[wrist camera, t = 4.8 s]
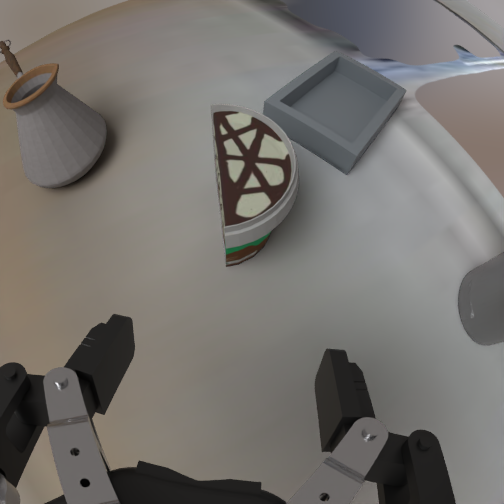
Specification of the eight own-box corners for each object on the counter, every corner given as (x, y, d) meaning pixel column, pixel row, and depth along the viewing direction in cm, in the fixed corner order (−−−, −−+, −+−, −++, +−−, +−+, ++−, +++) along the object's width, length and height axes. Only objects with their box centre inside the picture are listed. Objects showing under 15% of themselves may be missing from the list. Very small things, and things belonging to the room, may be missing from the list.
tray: (398, 106, 39) (406, 90, 36) (346, 175, 33) (356, 156, 30) (331, 67, 41) (335, 50, 38) (262, 122, 36) (264, 101, 32)
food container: (294, 274, 29) (323, 225, 20) (227, 282, 28) (225, 235, 19) (271, 165, 33) (284, 96, 24) (215, 170, 33) (210, 100, 23)
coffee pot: (130, 153, 33) (92, 48, 19) (53, 217, 30) (-20, 132, 16) (66, 89, 38) (36, 16, 24) (9, 134, 34) (-34, 67, 21)
